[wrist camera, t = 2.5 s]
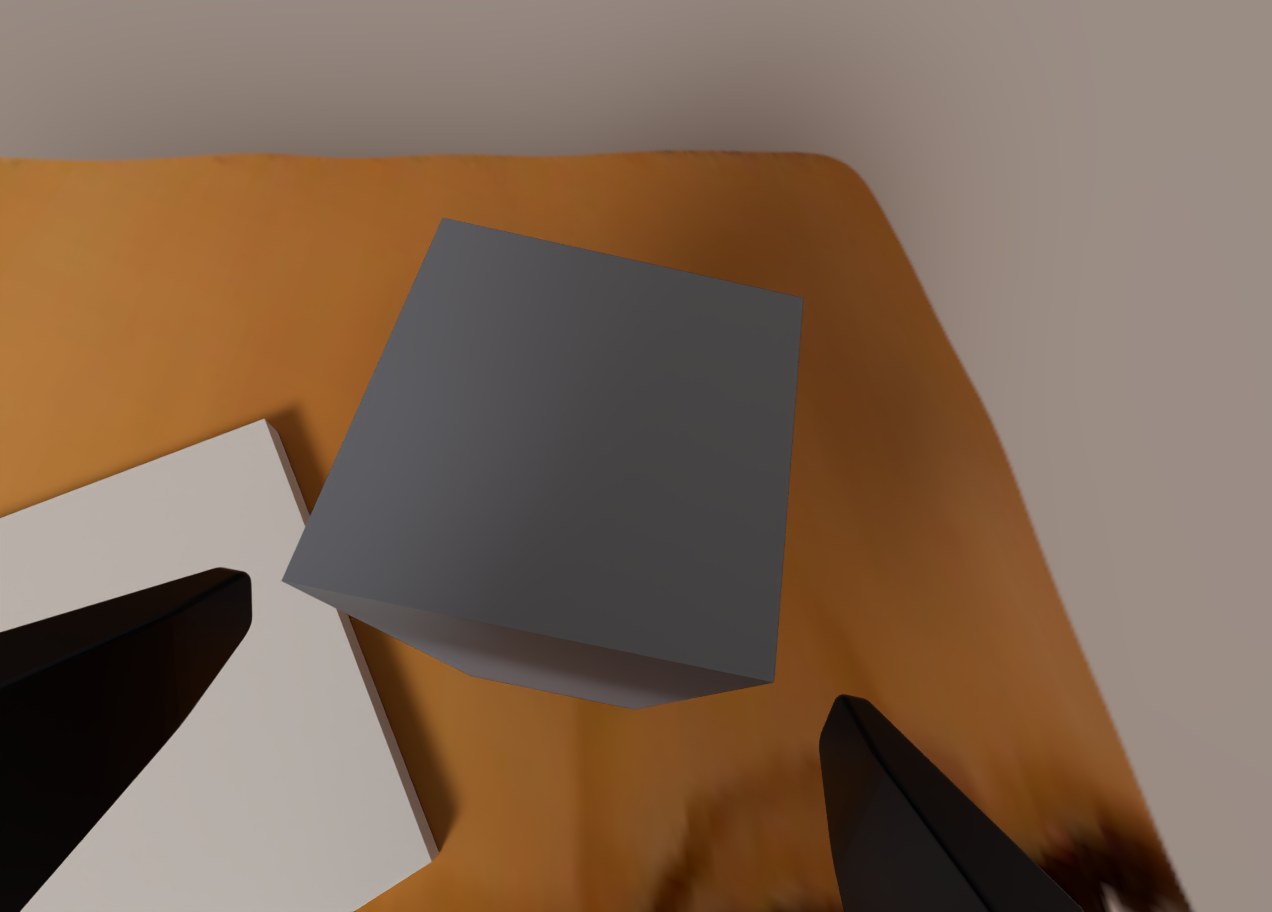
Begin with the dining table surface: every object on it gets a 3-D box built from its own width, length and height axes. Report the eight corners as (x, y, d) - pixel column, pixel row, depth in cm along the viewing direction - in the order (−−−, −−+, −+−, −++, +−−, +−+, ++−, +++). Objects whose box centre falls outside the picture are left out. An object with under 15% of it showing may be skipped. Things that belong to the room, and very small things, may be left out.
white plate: (439, 853, 16) (431, 861, 15) (-245, 1287, 12) (-312, 1335, 11) (278, 432, 20) (264, 418, 19) (-262, 640, 16) (-312, 635, 15)
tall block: (634, 709, 18) (774, 682, 6) (470, 676, 18) (281, 581, 6) (661, 550, 20) (803, 297, 8) (515, 519, 20) (442, 217, 8)
